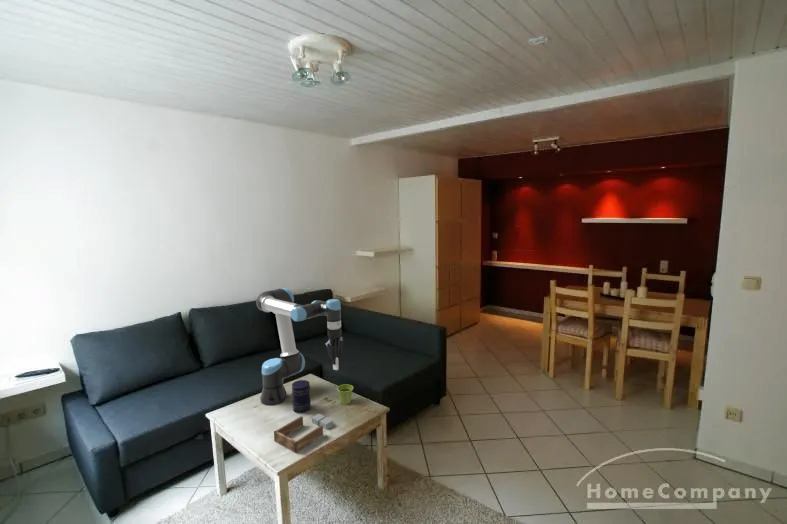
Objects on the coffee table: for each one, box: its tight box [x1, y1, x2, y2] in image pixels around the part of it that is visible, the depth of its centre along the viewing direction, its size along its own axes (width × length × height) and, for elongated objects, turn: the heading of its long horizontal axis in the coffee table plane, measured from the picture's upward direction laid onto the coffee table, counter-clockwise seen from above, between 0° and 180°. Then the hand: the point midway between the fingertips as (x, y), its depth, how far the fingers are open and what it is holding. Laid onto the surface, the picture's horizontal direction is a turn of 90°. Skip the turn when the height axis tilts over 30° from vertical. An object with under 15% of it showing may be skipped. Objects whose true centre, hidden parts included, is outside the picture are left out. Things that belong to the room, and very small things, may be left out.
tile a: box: [311, 413, 326, 427], centre depth 197 cm, size 5×5×3 cm
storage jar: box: [291, 379, 311, 414], centre depth 210 cm, size 10×10×15 cm
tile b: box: [319, 416, 334, 430], centre depth 194 cm, size 5×5×3 cm
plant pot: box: [336, 383, 354, 405], centre depth 218 cm, size 9×9×9 cm
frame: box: [273, 415, 324, 454], centre depth 183 cm, size 16×17×5 cm
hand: (335, 369), depth 205 cm, fingers closed
